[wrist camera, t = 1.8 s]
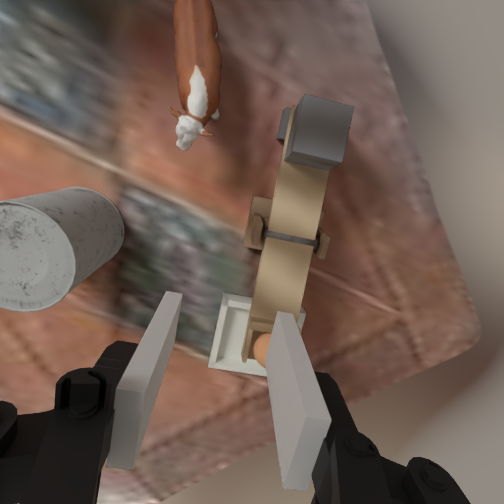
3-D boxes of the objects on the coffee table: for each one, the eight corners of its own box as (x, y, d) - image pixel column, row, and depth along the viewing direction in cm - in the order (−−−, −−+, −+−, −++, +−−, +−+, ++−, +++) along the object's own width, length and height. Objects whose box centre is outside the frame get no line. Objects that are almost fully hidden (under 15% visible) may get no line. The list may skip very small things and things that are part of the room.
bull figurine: (180, 150, 37) (165, 149, 29) (183, 11, 33) (166, -34, 25) (219, 153, 37) (215, 153, 29) (226, 16, 33) (223, -28, 25)
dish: (223, 292, 42) (222, 298, 40) (303, 306, 43) (306, 314, 41) (209, 358, 44) (208, 367, 42) (284, 370, 45) (287, 379, 43)
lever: (288, 108, 33) (300, 86, 28) (339, 121, 34) (360, 102, 29) (238, 353, 35) (241, 374, 30) (289, 361, 35) (300, 383, 30)
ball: (256, 323, 33) (259, 340, 30) (289, 328, 33) (296, 347, 30) (249, 353, 34) (251, 373, 31) (281, 358, 34) (287, 379, 31)
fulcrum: (253, 194, 38) (257, 203, 31) (321, 209, 39) (340, 220, 32) (242, 243, 40) (244, 261, 33) (308, 256, 41) (323, 276, 34)
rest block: (283, 110, 36) (286, 107, 33) (334, 123, 36) (341, 121, 34) (276, 138, 37) (279, 137, 34) (327, 150, 37) (333, 150, 35)
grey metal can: (140, 221, 39) (98, 250, 27) (96, 281, 40) (39, 332, 29) (68, 168, 36) (-12, 174, 25) (25, 233, 38) (-69, 268, 26)
